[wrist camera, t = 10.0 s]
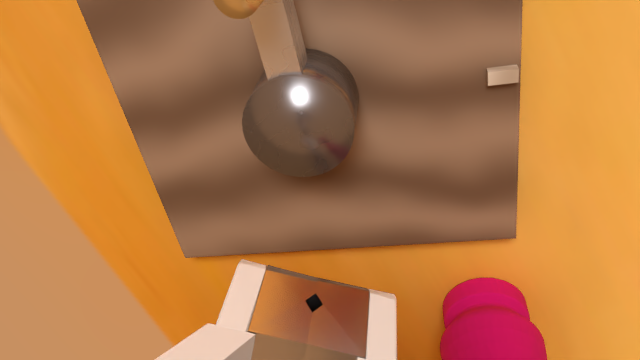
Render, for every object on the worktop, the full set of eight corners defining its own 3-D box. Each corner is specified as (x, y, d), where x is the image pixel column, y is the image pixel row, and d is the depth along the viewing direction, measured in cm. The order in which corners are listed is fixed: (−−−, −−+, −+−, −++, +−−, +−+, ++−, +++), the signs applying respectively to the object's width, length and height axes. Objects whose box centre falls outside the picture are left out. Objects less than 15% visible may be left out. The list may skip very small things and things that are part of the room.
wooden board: (512, 224, 36) (517, 244, 35) (191, 244, 41) (182, 263, 39) (520, -192, 24) (530, -193, 22) (54, -93, 28) (32, -87, 27)
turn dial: (366, 134, 32) (360, 205, 26) (273, 147, 33) (246, 218, 27) (321, -90, 25) (298, -64, 19) (207, -62, 27) (153, -30, 21)
